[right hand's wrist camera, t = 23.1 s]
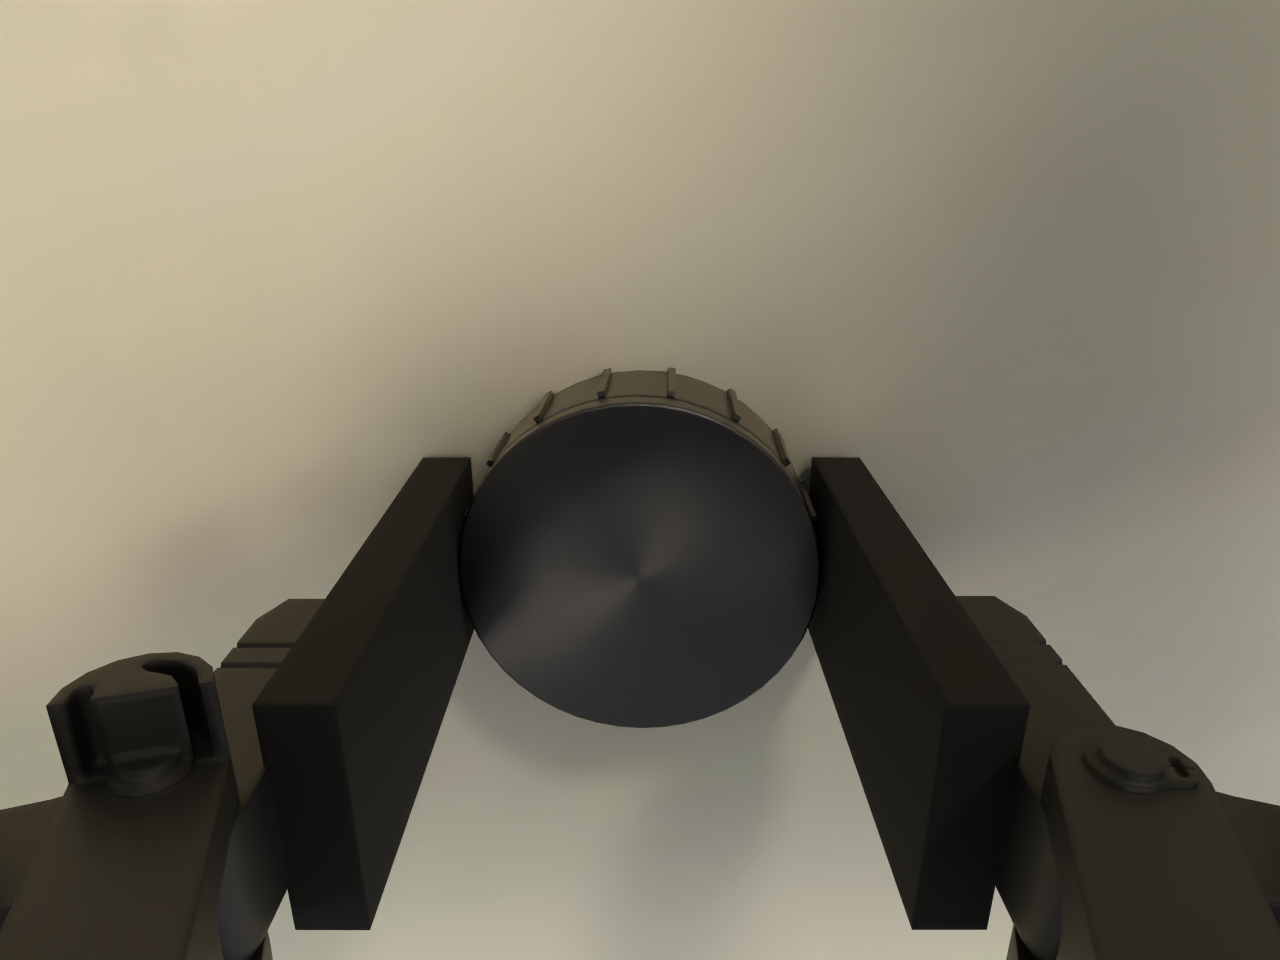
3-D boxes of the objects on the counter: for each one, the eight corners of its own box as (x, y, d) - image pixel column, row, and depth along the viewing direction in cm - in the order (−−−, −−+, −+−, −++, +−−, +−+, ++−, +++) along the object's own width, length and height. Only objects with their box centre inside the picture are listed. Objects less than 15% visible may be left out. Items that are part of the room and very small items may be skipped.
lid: (798, 663, 16) (815, 735, 14) (494, 661, 16) (469, 731, 14) (815, 363, 14) (837, 399, 12) (467, 366, 14) (435, 400, 12)
